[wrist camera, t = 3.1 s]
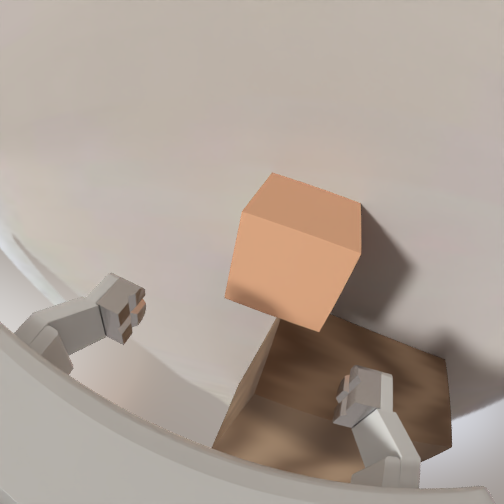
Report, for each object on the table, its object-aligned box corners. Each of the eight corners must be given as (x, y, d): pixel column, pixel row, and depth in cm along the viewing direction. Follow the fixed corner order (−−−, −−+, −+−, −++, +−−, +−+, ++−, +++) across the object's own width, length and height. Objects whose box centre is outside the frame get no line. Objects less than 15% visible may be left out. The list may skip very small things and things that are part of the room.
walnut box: (444, 357, 19) (451, 447, 13) (357, 424, 28) (346, 489, 22) (288, 294, 21) (254, 393, 14) (239, 383, 29) (210, 450, 23)
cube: (360, 202, 15) (361, 253, 11) (330, 272, 18) (319, 332, 14) (272, 172, 16) (242, 211, 12) (254, 245, 19) (224, 297, 15)
